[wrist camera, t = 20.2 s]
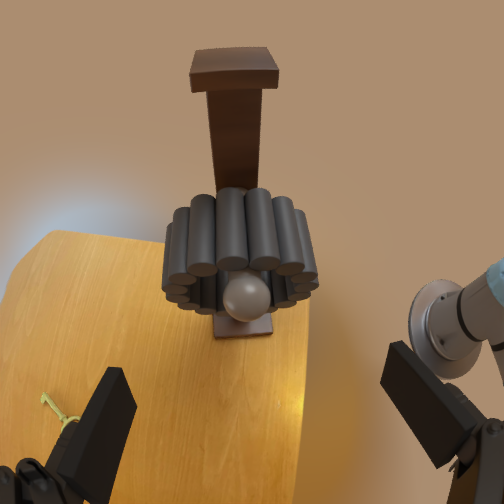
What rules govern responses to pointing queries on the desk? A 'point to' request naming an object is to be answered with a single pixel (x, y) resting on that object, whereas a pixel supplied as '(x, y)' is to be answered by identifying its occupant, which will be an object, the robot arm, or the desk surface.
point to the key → (58, 410)
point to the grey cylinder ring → (237, 249)
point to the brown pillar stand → (237, 161)
